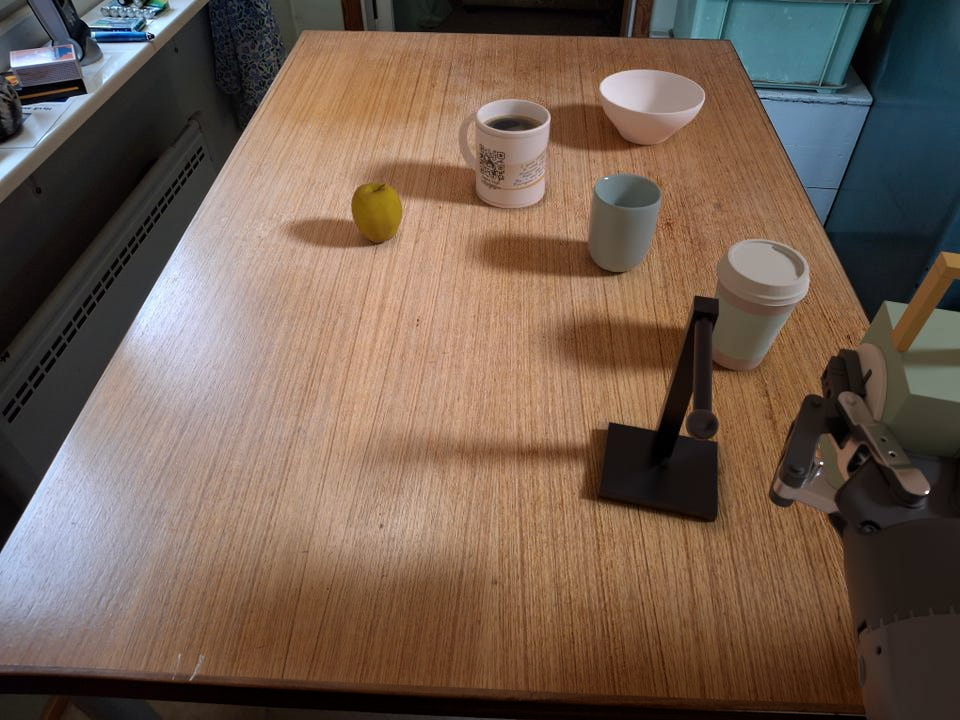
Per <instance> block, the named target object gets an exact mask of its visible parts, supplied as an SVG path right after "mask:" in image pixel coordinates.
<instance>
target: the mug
mask: <svg viewBox="0 0 960 720" xmlns="http://www.w3.org/2000/svg"><path fill="white" fill-rule="evenodd" d="M551 120H552V119H551V113H550V112H549V109H547V108H546V107H545V106H543V105H541V104H539V103H536V102H534V101H530V100H526V99H517V98H509V99H508V98H505V99H498V100H494V101H491V102H487V103H485V104H483V105H481V106H480V107H479V108H478V110H477V111H476V112H475V111H474V112H473V113H471V114H469V115H468V116H467V117H465V118H464V119H463V120H462V122H461V123H460V126H459V129H458V138H457V139H458V140H457V141H458V146H459V147H458V148H459V152H460V153H461V156H462V158H463V160H464V162H465V163H466V165H467V166H468V167H469V168H470V169H471V170H472V171H474V172H475V193H476V194H477V196H478V197H479V199H480V200H481V201H483V202H485V203H486V204H488V205H490V206H493V207H497V208H500V209H501V208H502V209H521V208H526V207H530V206H532V205H534V204H536V203H538V202H539V201H540V200H542V198H543V197H544V195H545V193H546V184H547V183H546V182H547V171H548V161H549V160H548V159H549V157H548V156H549V146H550V145H549V144H550V132H551ZM472 122H475V129H474V130H475V157H474V154H473V153H472V151H471V148H470V147H469V142H468V131H469V127H470V124H471V123H472Z"/></svg>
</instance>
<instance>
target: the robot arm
mask: <svg viewBox="0 0 960 720" xmlns="http://www.w3.org/2000/svg"><path fill="white" fill-rule="evenodd" d="M819 379H820V385H821V391H822V396H821V395H819V394H814V393H809V394H807V395H805V396H804V398H803V400H802V402H801V404H800V406H799V410H798V412H797V414H796V416H795V418H794V419H793V420H792V421H791V424H790V425H789V428H788V431H787V434H786V437H785V441H784V444H783V446H782V450H781V452H780V455H779V459H778V461H777V465H776V468H775V471H774V474H773V478H772V479H771V484H770V486H769V490H768V495H767V496H768V498H769V501H770V502H772V503H773V504H774V505H776V506H777V507H780V508H789V507H791V506H792V505H793V504H794V502H795V501H796V502H798V503H800V504H802V505H806V506H807V507H810V508H813V509H815V510H816V511H817V510H818V511H819V512H822V513H824V514H826V515H827V520H828V522H829V524H830V525H831V528H833V530H834V531H835V532H836V534H837V535H838V537H839V539H840V541H841V544H842V555H843V557H842V558H843V572H844V579H845V584H846V590H847V598H848V605H849V611H850V612H849V613H850V618H851V619H850V620H851V625H852V633H853V639H854V646H855V654H856V658H855V659H856V662H855V673H856V679H857V683H858V685H859V686H860V689H861V693H862V700H863V707H864V713H865V718H866V720H960V447H959V449H958V450H957V451H956V452H955V454H954V455H953V456H952V457H946V456H923V455H920V454H917V453H914V452H911V451H909V450H906V449H902V448H901V446H900V445H899V443H898V442H897V440H896V438H895V437H894V435H893V434H892V432H891V431H890V429H889V428H888V426H887V425H886V424H884V423H877V422H876V420H875V419H874V417H873V415H872V414H871V412H870V410H869V409H868V407H867V406H866V404H865V403H864V401H863V398H864V396H865V395H866V393H865V389H864V384H863V379H862V375H861V370H860V365H859V361H858V356H857V352H856V350H854V349H848V348H843V347H842V348H840V349H839V351H838V353H837V355H831V356H830V358H829V360H828V362H827V364H826V366H825V368H824V370H823V372H822V374H821V376H820V378H819ZM821 434H826V436H827V437H828V439H829V441H830V443H831V445H832V446H833V448H834V450H835V452H836V455H837V460H836V463H837V467H838V470H839V472H840V473H841V475H842V477H843V479H844V481H845V483H844V484H843V485H842V486H841V487H840V488H839V489H837V488H835V487H833V486H832V485H831V484H830V483H829V482H828V481H827V478H826V470H825V469H824V467H823V466H822V465H823V463H824V462H823V460H822V459H821V457H818V456H816V453H817V450H818V446H819V439H820V436H821Z"/></svg>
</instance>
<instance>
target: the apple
mask: <svg viewBox="0 0 960 720" xmlns="http://www.w3.org/2000/svg"><path fill="white" fill-rule="evenodd" d="M350 208H351V209H350V210H351V216H352V219H353V221H354V224H355V225H356V227H357V229H358V231H359V232H360V233H361V234H362V236H363V237H364V238H365V239H367V240H368V241H371V242H372V243H376V244H377V243H384V242H388V241H390V240H392V239H393V238H394V237H395V236H396V234H397V233H398V230H399V228H400V224H401V221H402V219H403V218H402V217H403V204H402V200H401V197H400V195H399V194H398V192H397V191H396V189H395V188H393V187H392V186H391V185H389V184H387V183H384V182H368V183H364V184H361V185H359V186H358V187H357V188H356V189H355V190H354V192H353V195H352V197H351V203H350Z"/></svg>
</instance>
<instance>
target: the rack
mask: <svg viewBox="0 0 960 720" xmlns="http://www.w3.org/2000/svg"><path fill="white" fill-rule="evenodd" d="M718 316H719V299H717V298H714V297H710V296H709V297H708V296H703V295H696V294H695V295H694V296H693V298H692V302H691V306H690V309H689V312H688V316H687V319H686V323H685V325H684V329H683V332H682V337H681V338H680V339H681V340H680V343H679V347H678V350H677V353H676V356H675V360H674V363H673V367H672V370H671V374H670V377H669V380H668V384H667V387H666V390H665V394H664V396H663V397H664V398H663V401H662V404H661V408H660V412H659V415H658V419H657V421H656V425H655V428H654V429H650V428H645V427H640V426H639V427H638V426H634V425H628V424H623V423H618V422H613V421H612V422H611V421H609V422H608V427H607V430H606V437H605V444H604V451H603V459H602V464H601V470H600V471H601V472H600V478H599V485H598V493H597V499H598V500H604V501H609V502H614V503H618V504H619V503H620V504H623V505H628V506H634V507H638V508H643V509H647V510H653V511H658V512H663V513H667V514H673V515H677V516H683V517H686V518H692V519H695V520H696V519H697V520H702V521H706V522H711V523H715V522H716V521H717V518H718V516H719V467H718V466H719V459H718V458H719V448H718V447H719V442H718V441H716V440H715V441H714V440H711V439H713V438H714V437H715V436H716V435H717V433H718V431H719V426H720V424H719V420H718V417H717V415H716V414H714V412H713V359H712V334H713V331H714V328H715V325H716V322H717V319H718ZM691 399H692V409H691V412H690V413H689V414H688V415H687V417H686V414H687V411H688V409H689V405H690V402H691ZM685 417H686V419H685ZM684 420H685V424H684V426H685V430H686V432H687V434H688V436H687V435H682V434H680V432H681V430H682V426H683V423H684Z"/></svg>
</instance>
